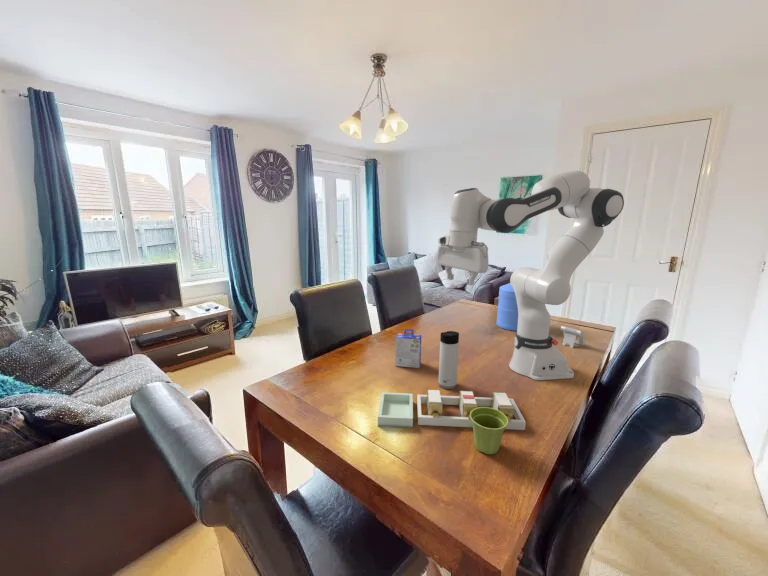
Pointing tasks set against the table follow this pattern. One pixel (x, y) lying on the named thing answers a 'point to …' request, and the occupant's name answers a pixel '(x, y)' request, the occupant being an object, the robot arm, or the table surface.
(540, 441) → the table surface
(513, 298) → the water jug
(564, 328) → the portable electronic device stand
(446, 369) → the travel mug
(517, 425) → the clip rack
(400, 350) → the ink cartridge box
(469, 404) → the block
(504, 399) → the plain fuse
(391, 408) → the sage tray
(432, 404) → the plain fuse
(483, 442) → the plant pot
